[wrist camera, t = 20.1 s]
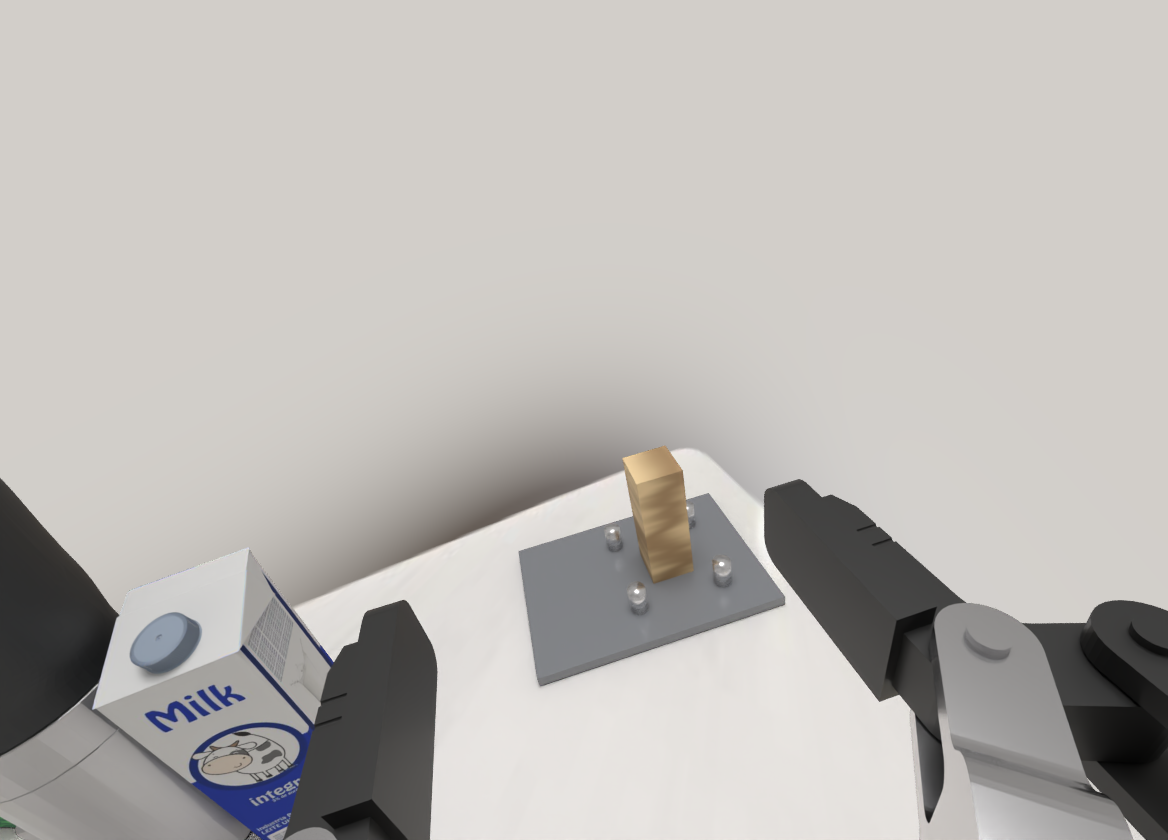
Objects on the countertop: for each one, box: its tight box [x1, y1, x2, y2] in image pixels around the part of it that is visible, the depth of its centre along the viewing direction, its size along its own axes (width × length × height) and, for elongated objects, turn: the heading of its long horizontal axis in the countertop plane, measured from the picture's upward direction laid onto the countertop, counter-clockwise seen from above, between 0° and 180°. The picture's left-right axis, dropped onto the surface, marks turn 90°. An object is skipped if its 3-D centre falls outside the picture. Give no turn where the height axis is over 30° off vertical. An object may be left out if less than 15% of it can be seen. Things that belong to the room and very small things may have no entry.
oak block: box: [623, 446, 694, 584], centre depth 45 cm, size 4×4×12 cm
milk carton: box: [92, 548, 334, 840], centre depth 32 cm, size 7×7×20 cm
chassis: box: [519, 493, 785, 686], centre depth 47 cm, size 22×15×4 cm
